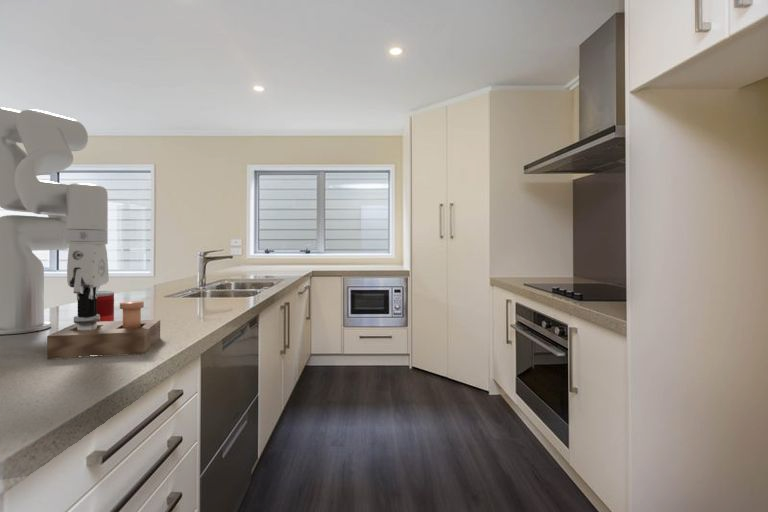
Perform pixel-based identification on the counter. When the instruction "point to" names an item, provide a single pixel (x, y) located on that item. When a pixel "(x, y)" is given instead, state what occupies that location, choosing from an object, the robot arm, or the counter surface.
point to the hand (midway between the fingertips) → (87, 316)
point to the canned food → (105, 305)
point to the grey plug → (87, 322)
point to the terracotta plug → (132, 313)
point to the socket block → (103, 340)
